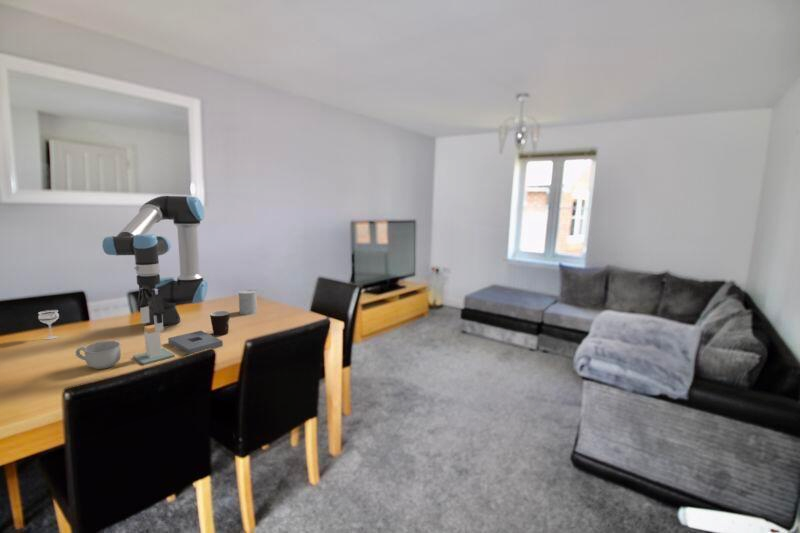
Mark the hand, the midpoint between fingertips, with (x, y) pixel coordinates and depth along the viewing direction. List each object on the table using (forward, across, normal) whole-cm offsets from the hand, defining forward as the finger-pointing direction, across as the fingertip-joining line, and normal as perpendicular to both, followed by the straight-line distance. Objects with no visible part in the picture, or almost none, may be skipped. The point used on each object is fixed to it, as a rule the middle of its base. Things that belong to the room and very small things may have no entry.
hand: (152, 326), depth 150 cm
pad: (+13, 0, 0) cm, 13 cm away
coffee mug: (+13, -8, +33) cm, 36 cm away
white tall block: (+12, 0, 0) cm, 12 cm away
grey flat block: (+13, -2, +17) cm, 21 cm away
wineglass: (+13, -56, -21) cm, 61 cm away
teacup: (+13, -5, -17) cm, 22 cm away
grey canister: (+14, -32, +60) cm, 69 cm away
